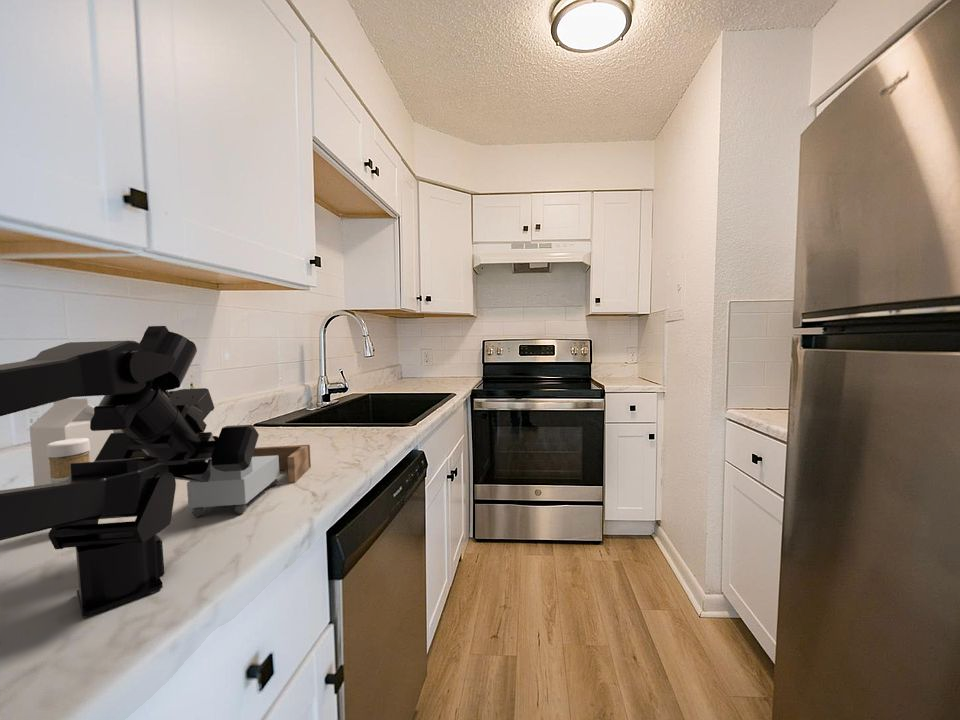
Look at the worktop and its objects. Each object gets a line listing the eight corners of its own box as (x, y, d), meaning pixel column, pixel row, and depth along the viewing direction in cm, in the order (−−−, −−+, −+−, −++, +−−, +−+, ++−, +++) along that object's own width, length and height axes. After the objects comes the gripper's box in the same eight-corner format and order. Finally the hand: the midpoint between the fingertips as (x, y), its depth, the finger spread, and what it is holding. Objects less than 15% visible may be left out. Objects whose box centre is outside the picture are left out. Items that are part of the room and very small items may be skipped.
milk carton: (71, 522, 65) (61, 401, 64) (36, 520, 66) (26, 401, 65) (119, 504, 72) (111, 395, 71) (86, 503, 73) (78, 395, 72)
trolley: (245, 514, 65) (241, 454, 65) (188, 518, 65) (184, 458, 64) (280, 483, 80) (277, 434, 80) (234, 486, 79) (231, 436, 79)
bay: (295, 482, 80) (293, 456, 80) (219, 487, 79) (217, 461, 79) (310, 467, 90) (309, 444, 90) (243, 471, 89) (242, 448, 88)
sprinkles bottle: (87, 521, 65) (80, 436, 65) (102, 525, 63) (95, 438, 63) (47, 533, 61) (39, 443, 60) (62, 538, 59) (55, 445, 59)
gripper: (248, 368, 58) (283, 430, 69) (103, 373, 56) (163, 436, 67) (223, 437, 50) (266, 494, 62) (54, 446, 48) (130, 503, 60)
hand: (206, 479), depth 63 cm, fingers closed
